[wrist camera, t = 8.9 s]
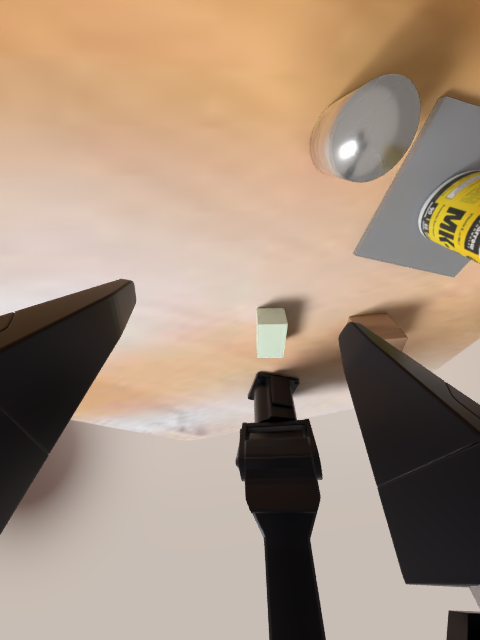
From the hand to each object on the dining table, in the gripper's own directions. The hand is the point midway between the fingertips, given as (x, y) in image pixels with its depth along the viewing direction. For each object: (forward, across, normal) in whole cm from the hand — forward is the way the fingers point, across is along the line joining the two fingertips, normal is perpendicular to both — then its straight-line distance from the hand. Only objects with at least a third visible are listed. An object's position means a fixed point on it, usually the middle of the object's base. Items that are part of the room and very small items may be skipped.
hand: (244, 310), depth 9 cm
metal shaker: (+12, -5, -7) cm, 15 cm away
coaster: (+12, -15, -5) cm, 20 cm away
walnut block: (+12, -16, +8) cm, 22 cm away
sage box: (+12, -5, +10) cm, 17 cm away
